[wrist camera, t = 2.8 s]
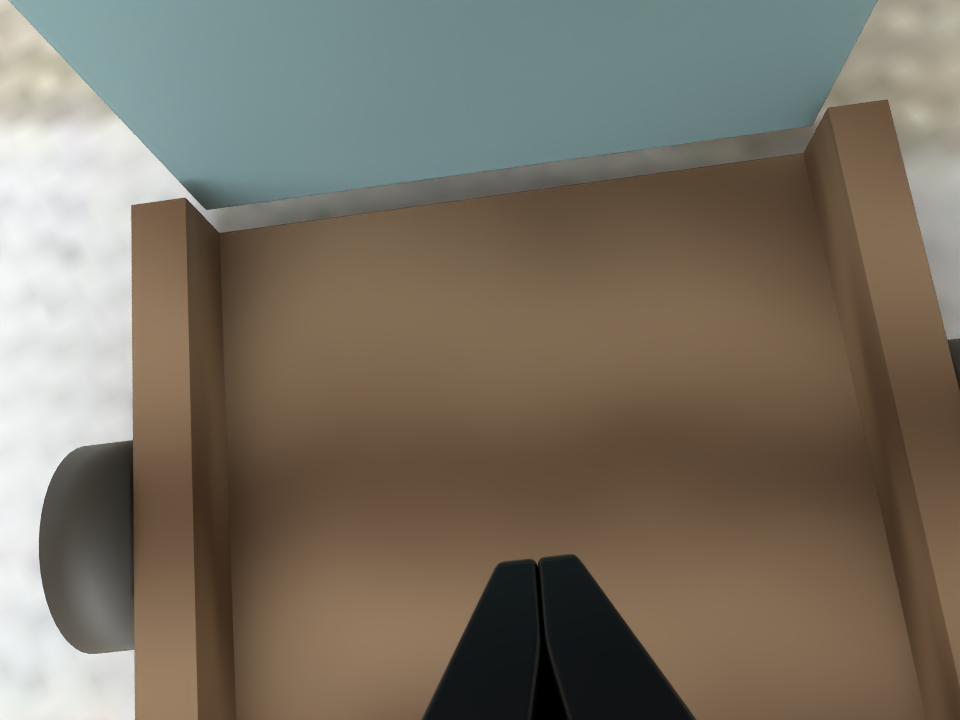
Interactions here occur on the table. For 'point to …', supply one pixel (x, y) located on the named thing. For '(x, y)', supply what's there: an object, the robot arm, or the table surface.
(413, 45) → the panel
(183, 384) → the trailer
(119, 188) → the table surface
